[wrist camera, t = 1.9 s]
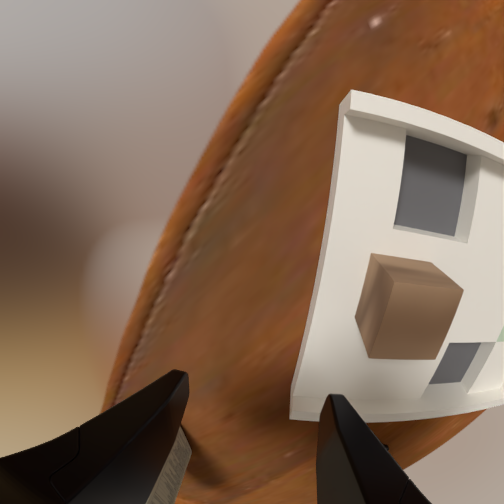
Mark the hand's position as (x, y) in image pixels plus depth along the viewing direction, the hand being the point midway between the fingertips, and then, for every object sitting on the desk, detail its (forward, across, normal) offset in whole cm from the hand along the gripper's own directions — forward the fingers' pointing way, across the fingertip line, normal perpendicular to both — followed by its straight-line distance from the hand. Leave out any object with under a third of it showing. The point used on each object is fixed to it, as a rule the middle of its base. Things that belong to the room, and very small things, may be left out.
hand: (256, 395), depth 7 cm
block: (+9, -7, 0) cm, 11 cm away
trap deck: (+11, -14, 0) cm, 17 cm away
